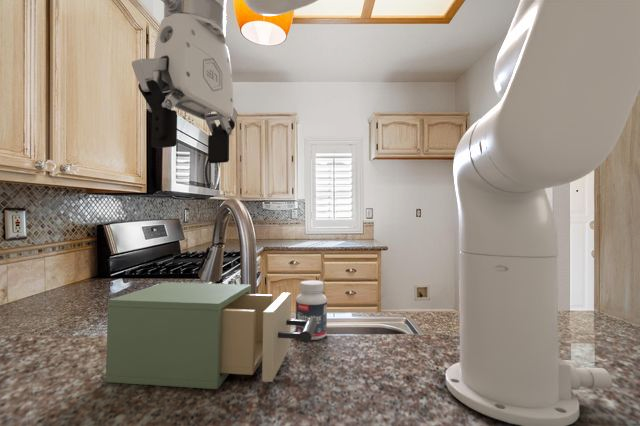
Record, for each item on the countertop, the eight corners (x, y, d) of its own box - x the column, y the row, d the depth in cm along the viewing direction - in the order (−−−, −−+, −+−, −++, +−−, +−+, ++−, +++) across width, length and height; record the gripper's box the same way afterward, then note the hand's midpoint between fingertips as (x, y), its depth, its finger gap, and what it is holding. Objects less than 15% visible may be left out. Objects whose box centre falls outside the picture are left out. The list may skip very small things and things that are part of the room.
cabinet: (250, 349, 48) (251, 284, 48) (217, 389, 36) (218, 303, 36) (163, 345, 49) (165, 282, 49) (105, 382, 37) (107, 299, 38)
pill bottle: (292, 339, 52) (292, 284, 52) (298, 329, 57) (299, 279, 57) (324, 341, 51) (325, 285, 51) (328, 331, 56) (328, 280, 56)
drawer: (318, 348, 46) (318, 293, 46) (308, 384, 36) (309, 313, 36) (207, 342, 48) (208, 290, 48) (167, 375, 37) (169, 308, 38)
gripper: (165, -33, 32) (162, 135, 32) (255, 53, 49) (255, 165, 48) (112, -14, 35) (108, 142, 34) (215, 62, 51) (214, 168, 51)
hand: (194, 155), depth 41 cm, fingers open, 9 cm apart
